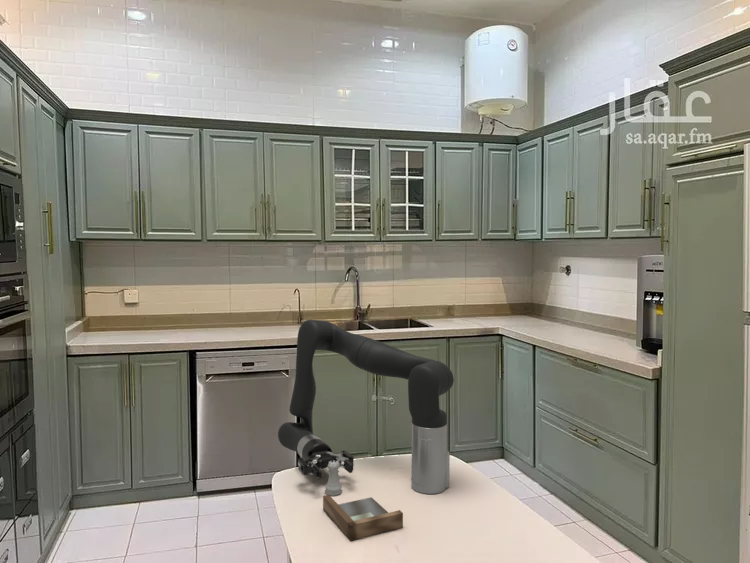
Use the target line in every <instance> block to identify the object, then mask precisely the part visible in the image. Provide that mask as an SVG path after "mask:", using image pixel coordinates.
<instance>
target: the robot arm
mask: <svg viewBox="0 0 750 563" xmlns="http://www.w3.org/2000/svg"><path fill="white" fill-rule="evenodd" d="M316 351H327V352H328V351H329V352H333V353H336V354H339V355H341V356H344V358H346V359H347V360H348V362H349V363H350V364H351V365H353V366H355V367H356V368H358V369H361V370H362V371H365V372H368V373H370V374H374V375H377V376H382V377H391V378H399V379H405V380H407V390H408V391H407V393H408V395H407V396H408V410H409V414H410V416H411V473H410V474H411V479H410V480H411V488H412V489H413V490H414V491H416V492H418V493H421V494H428V495H429V494H430V495H431V494H439V493H442V492H444V491H445V490H446V489H448V488H450V468H451V467H450V465H451V464H450V462H451V461H450V460H451V456H450V455H451V453H450V452H449V450H447V448H448V447H447V446H448V445H447V441H448V440H447V438H448V436H447V435H448V434H447V429H448V428H447V426H448V415H447V412H445V411H444V410H442V409H441V408H440V396H442V395H444V394H446V393H447V392H449V391H450V390H451V388H452V387H453V385H454V382H455V380H454V379H455V378H454V374H453V372H452V370H451V369H450V367H449V366H448V365H447V364H445V363H444V362H442V361H439V360H435V359H431V358H426V357H423V356H419V355H418V356H417V355H415V354H411V353H409V352H407V351H405V350H401V349H400V348H397V347H394V346H391V345H389V344H386V343H384V342H381V341H378V340H376V339H373V338H371V337H368V336H364V335H362V334H361V335H360V334H357V333H353V332H349V331H347V330H345V329H343V328H341V327H339V326H337V325H336V324H334V323H332V322H330V321H326V320H319V319H306V320H304V321H303V322H302V323H301V324H300V326H299V328H298V333H297V341H296V355H295V356H296V358H295V378H294V385H293V391H292V395H291V400H290V405H289V413H290V414H291V415H293V416H294V417H296V418H297V417H298V418H300V419H301V422H290V421H287V422H284V423H283V424H281V425H280V426H279V428H278V432H277V438H278V441H279V442H280V444H281V445H282V446H283V447H284V448H287V449H289V450H291V451H294V452H296V453H297V454H298V455H299V458H297V460H298V461H297V466H298V467H297V468H298V470H299V471H300V472H301V473H302V475H303V476H307V475H309V474H310V475H312V476H314V478H317V479H318V480H321V479H322V478H323V474H322V473H323V472H322V470H323V469H326V468H328V467H327V465H328V464H329V462H330V461H332V462H333V460H335V462H336V461H338V464H339V465H340V467H339V468H338V470H339V469H340V468H341V469H342V468H343V469H344V470H345V471H347V473H349V474H351V473H353V471H354V466H355V465H354V464H355V463H354V455H352V454H351V453H349V452H347V451H346V450H341V452H340V453H339V454H338V453H336V452H333V450H332V448H331V447H330V446H329V444H327V443H326V442H325V441H324V440H322V439H321V438H320V437H318V436H317V435H315V434H314V431H313V430H314V429H313V408H314V403H315V399H316V394H317V393H316V392H317V385H316V380H315V375H314V371H313V370H314V369H313V361H314V357H315V353H316Z"/></svg>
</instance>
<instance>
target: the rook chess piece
mask: <svg viewBox="0 0 750 563" xmlns="http://www.w3.org/2000/svg"><path fill="white" fill-rule="evenodd" d="M339 467H340V465H339V464H338V461H336V462H335V460H333V462H332V461H330V462H329V464H328V465H327V468H328V471H327V472H328V480H327V482H326V485H325V489H324V492H325V493H326V495H330V496H331V497H332V496H333V497H335V496H339V495H340V494H341V493H342V492H343V489H342V488H343V487H342V484H341V482H340V479H339V472H340V471H339V469H340V468H341V467H340V468H339ZM338 468H339V469H338Z"/></svg>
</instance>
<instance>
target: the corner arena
mask: <svg viewBox="0 0 750 563" xmlns="http://www.w3.org/2000/svg"><path fill="white" fill-rule="evenodd" d="M322 510H323V512H324V513H325V514H326V516H327V517H329V518H330V520H331V521H332V522H333V524H334V525H335V526H336V527H337V529H339V530H340V532H342V534H343V535H344V536H345V537H346V538H347V539H348V541H349V542H353V541H354V542H355V541H358V540H361V539H365V538H370V537H373V536H378V535H380V534H386V533H390V532H392V531H396V530H397V531H398V530H401V529H403V528H404V512H402V510H400V509H399V510H395V511H390V512H388V510H387V509H385V508H384V507H383V506H382V505H381V504H379V502H378V501H376V500H375V499H374V498H373V497H371V496H370V497H366V498H362V499H357V500H352V501H348V502H344V503H337V501H336V500H334V498H332V496H330V495H327V494H326V495H323V496H322Z"/></svg>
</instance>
